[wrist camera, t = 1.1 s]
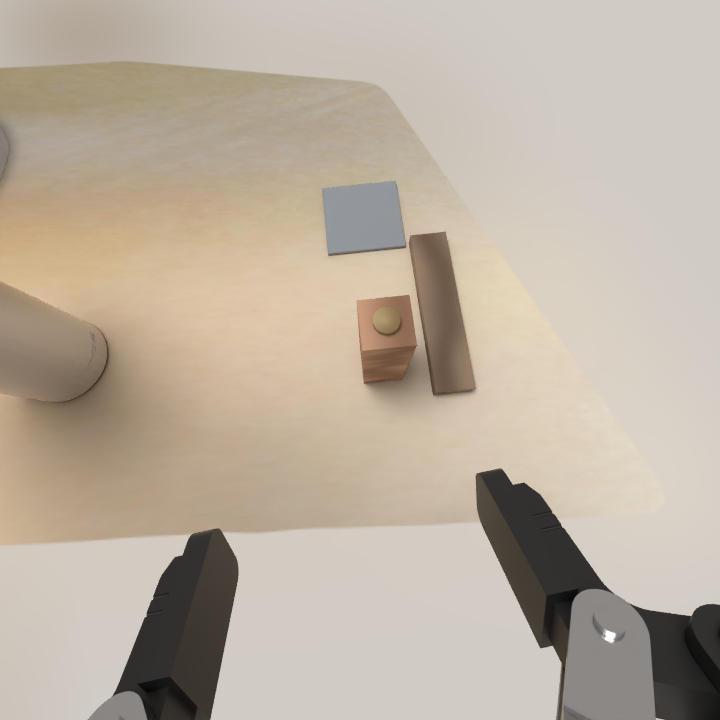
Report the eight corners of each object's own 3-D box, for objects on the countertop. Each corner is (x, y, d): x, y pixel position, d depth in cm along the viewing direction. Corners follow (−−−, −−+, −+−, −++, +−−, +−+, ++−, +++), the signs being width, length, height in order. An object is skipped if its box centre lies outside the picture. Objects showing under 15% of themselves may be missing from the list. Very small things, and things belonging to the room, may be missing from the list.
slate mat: (328, 255, 41) (328, 253, 41) (322, 190, 44) (322, 188, 43) (405, 247, 41) (405, 245, 41) (395, 183, 44) (395, 180, 43)
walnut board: (433, 394, 37) (435, 392, 35) (408, 243, 42) (410, 235, 40) (471, 390, 37) (475, 388, 36) (442, 239, 42) (445, 231, 40)
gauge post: (364, 383, 37) (362, 348, 25) (360, 347, 38) (356, 297, 26) (401, 379, 37) (418, 342, 25) (396, 343, 38) (410, 291, 26)
